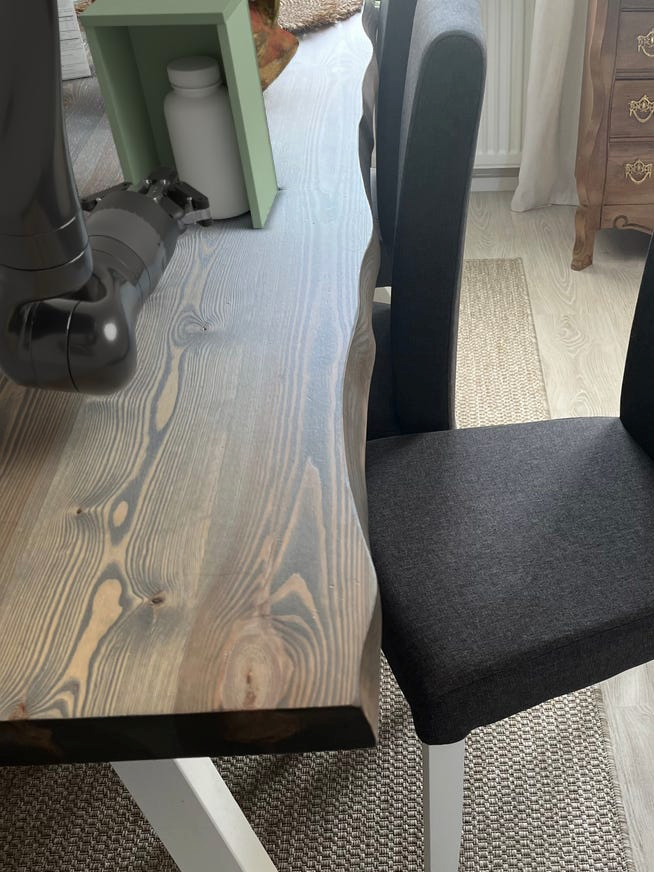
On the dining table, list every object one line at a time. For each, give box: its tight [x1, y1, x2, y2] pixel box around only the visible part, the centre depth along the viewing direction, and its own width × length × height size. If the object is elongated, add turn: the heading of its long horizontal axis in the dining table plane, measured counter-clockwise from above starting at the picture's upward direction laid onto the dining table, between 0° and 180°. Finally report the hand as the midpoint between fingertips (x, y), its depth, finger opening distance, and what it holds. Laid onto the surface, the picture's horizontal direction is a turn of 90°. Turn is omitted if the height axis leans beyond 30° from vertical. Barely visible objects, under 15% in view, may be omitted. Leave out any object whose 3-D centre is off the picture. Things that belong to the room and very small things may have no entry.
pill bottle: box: [164, 56, 250, 220], centre depth 110 cm, size 8×8×15 cm
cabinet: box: [78, 0, 279, 229], centre depth 108 cm, size 12×14×21 cm
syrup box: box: [57, 0, 92, 81], centre depth 147 cm, size 6×6×14 cm
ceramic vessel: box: [91, 0, 300, 93], centre depth 132 cm, size 17×26×25 cm, turn 108°
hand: (167, 176), depth 101 cm, fingers closed
